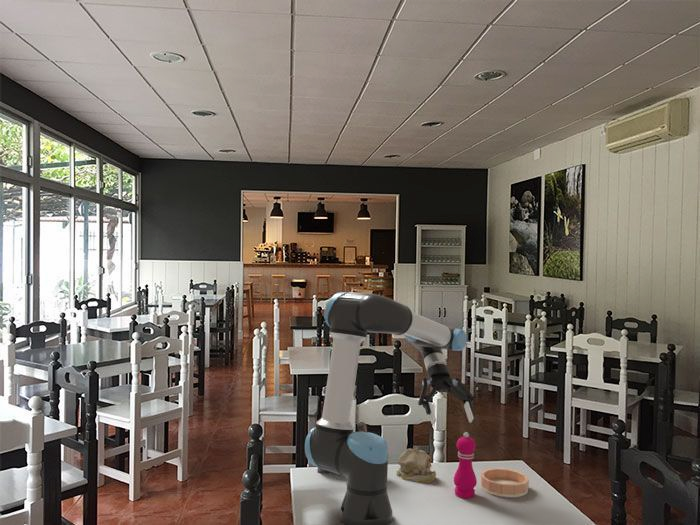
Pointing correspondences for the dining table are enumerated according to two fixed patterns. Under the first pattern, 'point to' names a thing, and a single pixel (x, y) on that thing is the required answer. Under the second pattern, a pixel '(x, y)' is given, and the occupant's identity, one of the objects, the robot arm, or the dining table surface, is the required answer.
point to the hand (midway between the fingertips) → (452, 421)
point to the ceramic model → (415, 466)
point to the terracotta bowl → (504, 482)
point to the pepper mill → (465, 468)
